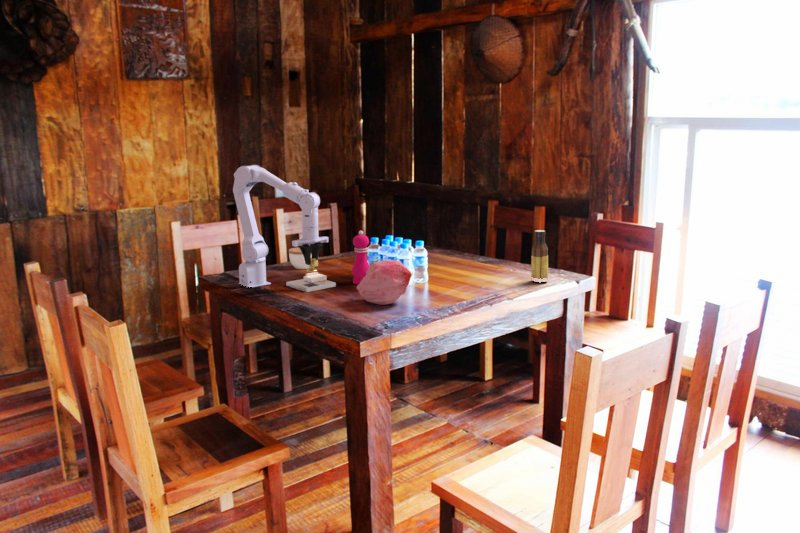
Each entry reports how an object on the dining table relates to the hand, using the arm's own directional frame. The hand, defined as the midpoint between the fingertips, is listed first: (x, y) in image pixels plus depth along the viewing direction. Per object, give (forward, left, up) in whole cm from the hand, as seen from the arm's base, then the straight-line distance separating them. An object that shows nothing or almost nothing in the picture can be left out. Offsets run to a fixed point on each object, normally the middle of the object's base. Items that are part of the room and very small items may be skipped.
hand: (311, 263), depth 248 cm
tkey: (0, 0, -3) cm, 3 cm away
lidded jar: (+18, +33, -9) cm, 39 cm away
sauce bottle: (+71, -49, -9) cm, 87 cm away
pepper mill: (+19, -5, -9) cm, 22 cm away
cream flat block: (+5, +5, -8) cm, 10 cm away
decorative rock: (+6, -33, -9) cm, 35 cm away
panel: (+2, +3, -9) cm, 10 cm away
